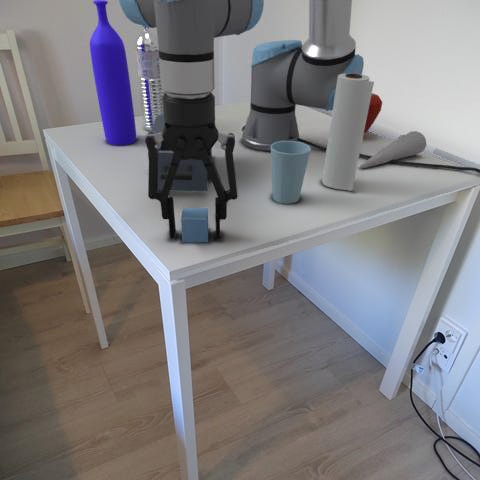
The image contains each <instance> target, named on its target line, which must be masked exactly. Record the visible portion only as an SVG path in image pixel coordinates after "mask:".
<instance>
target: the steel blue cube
mask: <svg viewBox="0 0 480 480" xmlns="http://www.w3.org/2000/svg"><path fill="white" fill-rule="evenodd" d="M180 225H181V237H182V243H209V207H182V209H181V217H180Z"/></svg>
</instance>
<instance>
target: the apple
mask: <svg viewBox="0 0 480 480" xmlns="http://www.w3.org/2000/svg"><path fill="white" fill-rule="evenodd" d="M382 106H383V101H382V99H381V97H380V96H379V95H378V94H377V93H373V92H372V95H371V100H370V104H369V109H368V114H367V119H366V124H365V129H364V134H363V135H365V134H366V133H367V132H369V130H370V128H371V127H372V125H373V124H374V123H375V122H376V120H377V118H378V116H379V114H380V113H381V111H382Z"/></svg>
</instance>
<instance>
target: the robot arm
mask: <svg viewBox="0 0 480 480" xmlns="http://www.w3.org/2000/svg"><path fill="white" fill-rule="evenodd" d="M118 2H119V5H120V7H121V10H122V12H123V15H124V16H125V17H126V19H128V20H129V21H130V22H132V23H133V24H135V25H140V26H142V25H143V26H148V27H150V29H155V28H156V36H157V38H158V47H159V51H158V52H159V67H160V78H161V88H162V89H163V90H164V91H165V93H164V95H163V96H162V100H163V112H164V123H165V125H164V129H163V132H159V133H155V134H154V133H152V132H151V131H149V132H147V134H146V135H145V136H146V137H145V139H144V142H145V146H146V149H147V153H148V152H149V159H148V180H147V181H148V185H147V186H148V187H147V188H148V189H147V196H148V198H149V199H150V200H157V201H159V203H160V211H161V218H162V220H168V229H169V238H170V239H171V240H175V239H176V233H177V229H176V217H175V204H174V196H170V193H171V191H170V190H171V187H172V184H173V181H174V178H175V175H176V172H177V168H178V166H179V163H180V160H188V159H194V160H201V159H202V162H203V164H204V166H205V168H206V170H207V172H208V175H209V177H210V179H211V181H210V182H211V184H212V186H213V189H214V191H215V193H216V196H215V199H214V202H215V203H214V210H215V214H214V215H215V240H220V239H221V220H222V221H223V220H224V221H225V220H226V219H227V216H228V215H227V213H228V211H227V209H228V202H229V201H231V200H233V201H235V200H237V199H238V196H239V195H238V194H239V193H238V186H237V178H236V168H235V160H234V149H235V146H236V136H235V134H234V133H233V132H229V133H228V134H227V133H223V132H219V130H218V128H217V126H216V96H215V95H214V94H213V91H214V90H215V43H214V42H215V38H222V37H227V36H232V35H235V36H241V34H244V33H246V32H248V31H250V30H252V29H253V28H255V27H256V25H257V24H258V23H259V21H260V20H261V18H262V15H263V12H264V5H265V1H264V0H118ZM352 5H353V0H308V38H307V40H305V41H304V43H303V42H302V41H301V40H300V39H299V40H298V39H285V40H276V41H275V40H274V41H267V42H263V43H259V44H257V45H255V46H254V48H253V50H252V57H251V65H250V68H251V70H250V71H251V72H250V73H251V75H250V76H251V77H250V107H249V108H250V109H249V113H248V116H247V119H246V122H245V125H244V126H242V127H241V132H242V144H243V145H245V146H246V147H248V148H250V149H252V150H257V151H261V152H271V145H272V144H273V143H275V142H279V141H297V142H301V143H304V144H307V145H308V146H311V147H313V148H316V149H318V150H322V151H325V152H326V151H327V147H325V146H321V145H319V144H316V143H314V142H311V141H308V140H307V139H302V138H300V131H299V126H298V122H297V116H296V106H297V105H298V106H301V107H302V106H303V107H308V108H313V109H320V110H325V111H326V112H328V111H329V112H330V111H332V112H333V105H334V98H335V92H336V85H337V78H338V75H340V74H346V73H352V74H361V75H363V72H364V63H365V62H364V57H363V55H360V54H359V53H358V54H356V48H357V47H356V46H357V42H356V40H355V39H354V37H352V36H351V35H350V33H351V32H350V31H351V21H352V19H351V18H352V17H351V16H352ZM143 26H142V27H143ZM163 140H164V141H165V142H166V143H167V145H168V146H169V147H170V149H171V150H172V151H173V152H174V153H173V156H172V160H171V163H170V166H169V169H168V173H167V176H166V179H165V182H164V186H163V189H162V190H159V189H157V185H158V153H159V151H158V149H159V148H160V147H161V142H162V141H163ZM217 142H218V143H219V144H220V148H221V149H222V150H223V151H224V157H225V166H226V174H227V175H226V176H227V182H228V189H226V188H225V186H224V183H223V181H222V178H221V176H220V174H219V172H218V168H217V166H216V164H215V163H216V162H215V161H214V159H213V154H212V155H211V152H210V150H211V149H212V150H213V148H214V146H215V145H216V143H217ZM373 156H374V155H368V154H364V153H360V154H359V158H364V159H367V160H368V159H369V158H371V157H373ZM388 163H389V164H397V165H405V166H406V165H407V166H413V167H414V166H415V167H424V168H438V169H449V170H456V171H473V172H476V173H478V174H480V168H477V167H474V166H473V167H470V166H458V165H457V166H456V165H450V164H438V163H437V164H436V163H434V164H433V163H426V162H415V161H405V160H399V159H398V160H391V161H389V162H388Z"/></svg>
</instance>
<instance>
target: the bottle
mask: <svg viewBox="0 0 480 480" xmlns="http://www.w3.org/2000/svg"><path fill="white" fill-rule="evenodd" d="M92 4H94V5H95V6H96V10H97V19H98V22H97V26H96V28H95V29H94V31H93V32H92V35H91V37H90V41H89V51H90V59H91V66H92V71H93V77H94V84H95V89H96V90H95V91H96V95H97V100H98V105H99V112H100V117H101V122H102V128H103V133H104V137H105V140H106V142H107V143H108V144H109V145H112V146H128V145H131V144H133V143H135V142H136V141H137V127H136V119H135V110H134V104H133V95H132V89H131V88H132V87H131V79H130V73H129V65H128V61H127V60H128V59H127V53H126V48H125V43H124V41H123V39H122V37H121V36H120V35H119V33H118V32H117V30H116V29H115V28H113V26H112V25H111V24H110V22H109V21H110V20H109V18H108V13H107V5H108V4H109V2H108V0H93V2H92Z"/></svg>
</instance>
